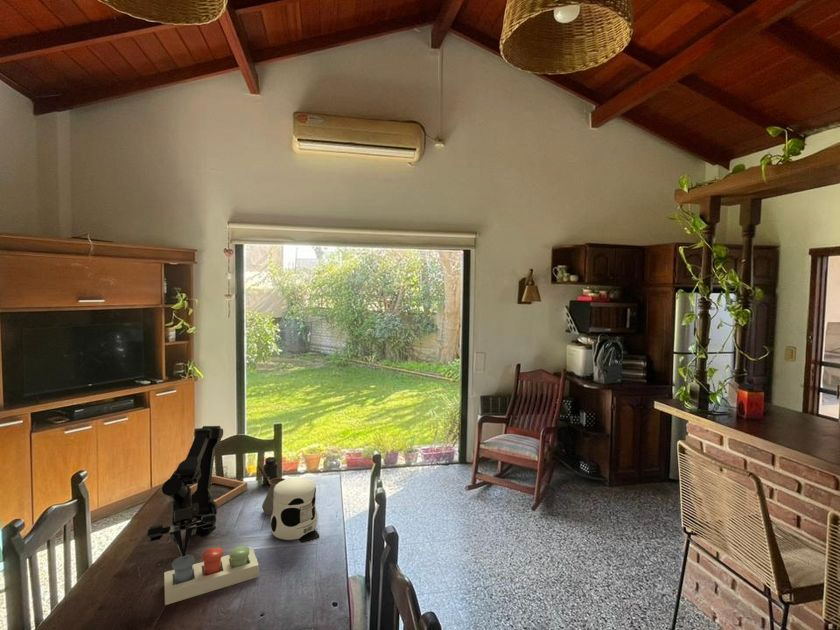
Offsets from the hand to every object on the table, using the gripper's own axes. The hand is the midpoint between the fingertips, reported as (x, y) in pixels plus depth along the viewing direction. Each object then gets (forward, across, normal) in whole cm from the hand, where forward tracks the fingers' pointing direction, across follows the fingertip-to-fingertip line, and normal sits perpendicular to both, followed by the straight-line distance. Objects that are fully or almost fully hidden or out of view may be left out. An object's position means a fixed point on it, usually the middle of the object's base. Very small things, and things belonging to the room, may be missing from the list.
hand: (183, 556), depth 132 cm
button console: (+8, +8, +7) cm, 13 cm away
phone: (-2, +42, +18) cm, 45 cm away
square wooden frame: (-36, +15, +51) cm, 64 cm away
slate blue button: (+5, 0, +5) cm, 8 cm away
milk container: (-3, +38, +18) cm, 42 cm away
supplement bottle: (-35, +39, +50) cm, 73 cm away
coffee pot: (-19, +34, +35) cm, 52 cm away
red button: (+5, +8, +5) cm, 11 cm away
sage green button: (+7, +16, +7) cm, 19 cm away
